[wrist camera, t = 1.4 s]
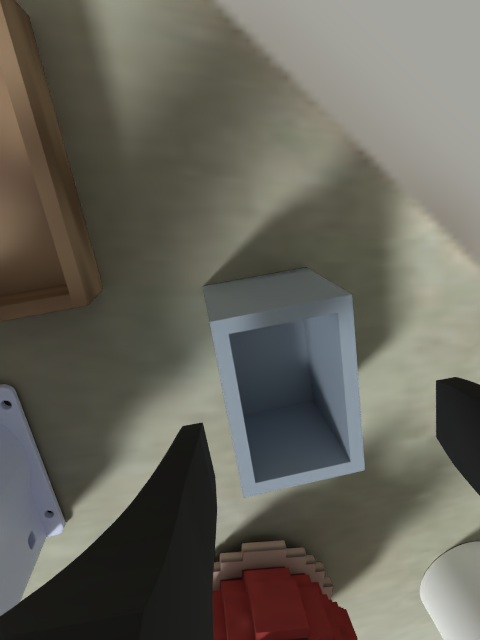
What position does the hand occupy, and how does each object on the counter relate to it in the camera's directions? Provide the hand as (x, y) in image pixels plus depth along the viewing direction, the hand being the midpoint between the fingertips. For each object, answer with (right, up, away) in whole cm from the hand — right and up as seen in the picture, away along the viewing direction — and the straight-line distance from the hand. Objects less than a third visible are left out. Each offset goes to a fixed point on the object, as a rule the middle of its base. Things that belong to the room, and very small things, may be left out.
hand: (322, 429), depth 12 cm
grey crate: (-1, +2, +9) cm, 10 cm away
